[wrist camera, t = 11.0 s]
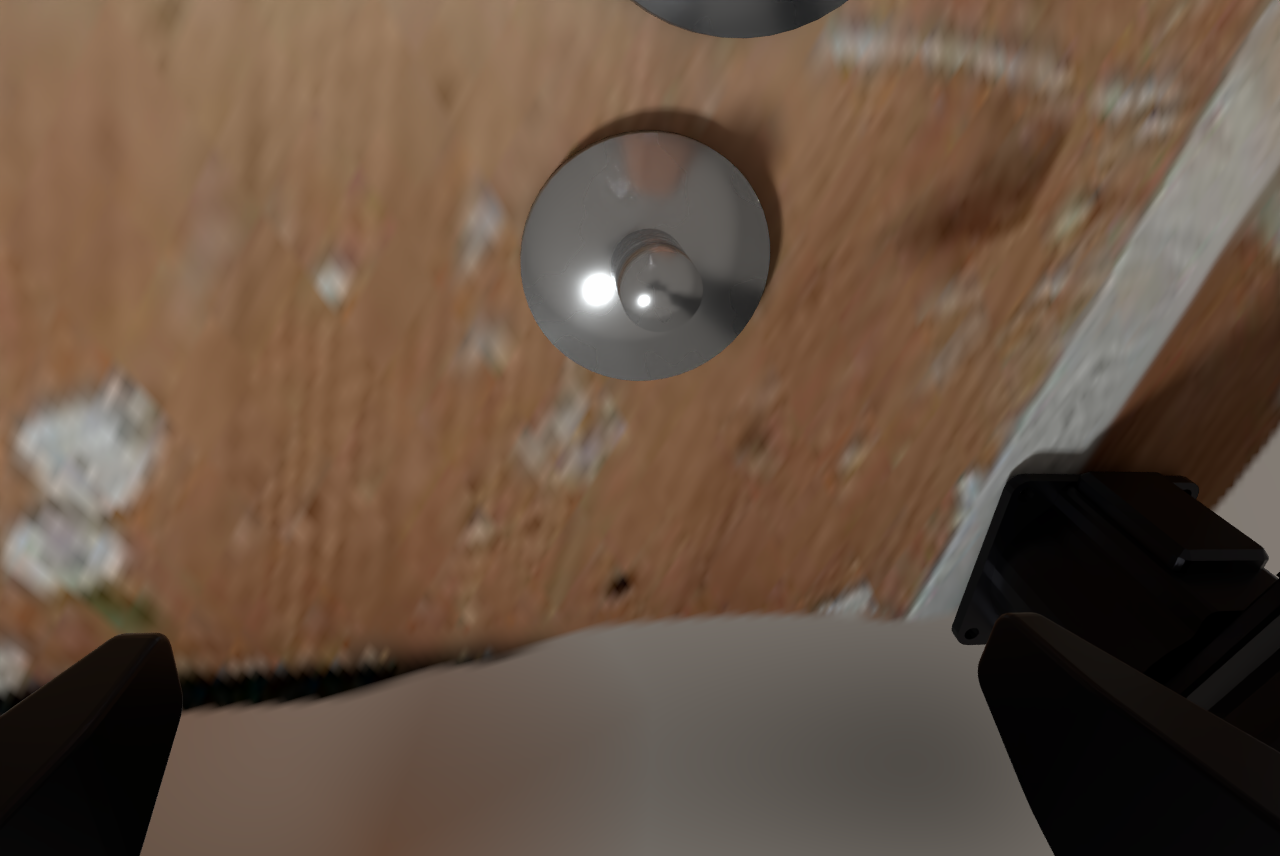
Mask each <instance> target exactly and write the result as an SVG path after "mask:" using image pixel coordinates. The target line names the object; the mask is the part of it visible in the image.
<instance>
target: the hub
mask: <svg viewBox="0 0 1280 856" xmlns="http://www.w3.org/2000/svg"><path fill="white" fill-rule="evenodd" d="M631 1H632V2H634V3H635V4H636V5H638V6H639V7H641V8H642V9H643V10H645V11H646V12H648V13H650V14H651V15H653V16H655V17H657V18H659V19H661V20H663V21H665V22H667V23H668V24H671V25H674V26H677V27H679V28H682V29H685V30H688V31H691V32H695V33H700V34H705V35H711V36H716V37H728V38H753V37H761V36H770V35H774V34H778V33H782V32H786V31H789V30H793V29H796V28H798V27H801V26H803V25H806V24H808V23H810V22H813V21H815V20H817V19H819V18H821V17H823V16H824V15H826V14H828V13H829V12H831V11H833V10H835V9H836V8H838V7H840V6H841V5H842V4H844V3H845V2H846V1H848V0H631Z"/></svg>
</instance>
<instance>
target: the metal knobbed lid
mask: <svg viewBox="0 0 1280 856" xmlns="http://www.w3.org/2000/svg"><path fill="white" fill-rule="evenodd" d="M520 255H521V277H522V283H523V288H524V293H525V296H526V299H527V302H528V305H529V308H530V310H531V312H532V314H533V316H534V318H535V321H536V322H537V324H538V325H539V327H540V328H541V330H542V331H543V333H544V334H545V335H546V337H547V338H548V339H549V340H550V341H551V342H552V344H553V345H554V346H555V347H556V348H557V349H559V350H560V351H561V352H562V353H563V354H564V355H565V356H567V357H568V358H570V359H571V360H573V361H574V362H576V363H577V364H579V365H581V366H583V367H585V368H587V369H588V370H590V371H593V372H596V373H598V374H601V375H604V376H608V377H612V378H617V379H622V380H633V381H645V380H656V379H663V378H668V377H672V376H675V375H679V374H682V373H684V372H687V371H689V370H692V369H694V368H696V367H698V366H700V365H702V364H704V363H705V362H707V361H709V360H710V359H712V358H713V357H714V356H716V355H717V354H719V353H720V352H721V351H722V350H724V349H725V348H726V347H727V346H728V345H729V344H730V343H731V342H732V341H733V340H734V339H735V338H736V337H737V336H738V335H739V334H740V332H741V331H742V330H743V329H744V327H745V326H746V324H747V323H748V321H749V320H750V319H751V317H752V315H753V313H754V311H755V309H756V308H757V306H758V304H759V301H760V299H761V296H762V294H763V291H764V288H765V284H766V280H767V276H768V270H769V262H770V239H769V232H768V226H767V222H766V219H765V215H764V212H763V209H762V207H761V204H760V202H759V200H758V197H757V195H756V194H755V192H754V190H753V189H752V187H751V185H750V184H749V182H748V181H747V180H746V178H745V177H744V176H743V175H742V174H741V172H740V171H739V170H738V169H737V168H736V167H735V166H734V165H733V164H732V163H730V162H729V161H728V160H727V159H726V158H725V157H723V156H722V155H720V154H719V153H718V152H716V151H715V150H713V149H712V148H710V147H709V146H707V145H705V144H703V143H701V142H699V141H697V140H694V139H692V138H689V137H686V136H683V135H680V134H677V133H671V132H665V131H652V130H640V131H632V132H624V133H621V134H617V135H613V136H609V137H606V138H604V139H602V140H599V141H597V142H594V143H592V144H590V145H589V146H587V147H585V148H583V149H582V150H580V151H578V152H577V153H575V154H574V155H573V156H572V157H570V158H569V159H568V160H567V161H565V162H564V163H563V164H562V165H561V166H560V167H559V168H558V169H557V170H556V171H555V172H554V173H553V174H552V175H551V176H550V178H549V179H548V180H547V182H546V183H545V184H544V186H543V187H542V188H541V190H540V192H539V193H538V195H537V197H536V199H535V201H534V203H533V204H532V207H531V209H530V212H529V214H528V217H527V220H526V223H525V227H524V231H523V236H522V243H521V253H520Z"/></svg>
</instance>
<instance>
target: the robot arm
mask: <svg viewBox="0 0 1280 856" xmlns="http://www.w3.org/2000/svg"><path fill="white" fill-rule="evenodd" d="M1024 489H1025V491H1024V492H1023V493H1021V494H1020V492H1021V491H1022V490H1024ZM1198 493H1199V488H1198V486H1197V485H1196V484H1195V483H1193V482H1192V481H1191V480H1189V479H1188V478H1186V477H1183V476H1163V475H1161V474H1159V473H1156V472H1087V473H1084V474H1081V475H1070V474H1021V475H1017V476H1015V477H1013V478H1012V479H1010V480H1009V481H1008V482H1007V484H1006V485H1005V487H1004V489H1003V492H1002V495H1001V497H1000V500H999V503H998V505H997V508H996V511H995V513H994V516H993V519H992V521H991V524H990V527H989V529H988V532H987V535H986V537H985V540H984V543H983V545H982V548H981V551H980V553H979V556H978V558H977V561H976V564H975V566H974V569H973V572H972V574H971V577H970V580H969V582H968V585H967V588H966V590H965V593H964V596H963V598H962V601H961V604H960V606H959V609H958V612H957V614H956V617H955V620H954V622H953V625H952V632H953V634H954V635H955V637H956V638H957V640H958V641H959V642H960V643H961V644H964V645H981V644H986V646H985V649H984V651H983V654H982V656H981V659H980V661H979V664H978V678H979V683H980V686H981V689H982V692H983V694H984V696H985V699H986V701H987V704H988V706H989V709H990V711H991V714H992V716H993V719H994V721H995V723H996V726H997V728H998V731H999V733H1000V736H1001V738H1002V741H1003V743H1004V745H1005V748H1006V750H1007V753H1008V755H1009V758H1010V760H1011V763H1012V765H1013V768H1014V770H1015V772H1016V775H1017V777H1018V780H1019V782H1020V785H1021V787H1022V790H1023V792H1024V794H1025V796H1026V799H1027V801H1028V803H1029V805H1030V808H1031V810H1032V812H1033V814H1034V816H1035V818H1036V820H1037V822H1038V824H1039V826H1040V828H1041V830H1042V832H1043V834H1044V836H1045V838H1046V840H1047V842H1048V844H1049V846H1050V848H1051V849H1052V851H1053V853H1054V855H1055V856H1280V572H1279V573H1278V574H1277V576H1278V577H1279V579H1278V578H1277V577H1276V576H1274V575H1273V574H1271V573H1270V572H1269V571H1267V570H1266V569H1265V568H1264V566H1265V564H1266V563H1267V561H1268V559H1269V557H1268V555H1267V553H1266V551H1265V550H1264V548H1263V547H1261V546H1260V545H1259V544H1257V543H1256V542H1255V541H1253V540H1252V539H1251V538H1249V537H1248V536H1246V535H1245V534H1244V533H1242V532H1241V531H1239V530H1238V529H1236V528H1235V527H1234V526H1232V525H1231V524H1229V523H1228V522H1227V521H1225V520H1224V519H1222V518H1221V517H1220V516H1218V515H1217V514H1216V513H1214V512H1213V511H1211V510H1210V509H1209V508H1207V507H1206V506H1204V505H1203V504H1202V503H1200V502H1199V501H1197V500H1196V498H1197V496H1198ZM182 704H183V696H182V689H181V685H180V681H179V677H178V673H177V668H176V664H175V660H174V656H173V652H172V647H171V644H170V642H169V640H168V638H167V637H166V636H165V635H163V634H161V633H126V634H120V635H117V636H115V637H113V638H111V639H109V640H108V641H106V642H105V643H104V644H102V645H101V646H99V647H98V648H97V649H95V650H94V651H92V652H91V653H89V654H88V655H87V656H85V657H84V658H82V659H81V660H80V661H78V662H77V663H75V664H74V665H72V666H71V667H70V668H68V669H67V670H65V671H64V672H62V673H61V674H60V675H58V676H57V677H55V678H54V679H53V680H51V681H50V682H48V683H47V684H45V685H44V686H43V687H41V688H40V689H38V690H37V691H36V692H34V693H33V694H31V695H30V696H28V697H27V698H26V699H24V700H23V701H21V702H20V703H18V704H17V705H16V706H14V707H13V708H11V709H10V710H9V711H7V712H6V713H4V714H3V715H1V716H0V856H140V853H141V850H142V847H143V843H144V840H145V837H146V833H147V830H148V826H149V823H150V820H151V816H152V813H153V809H154V806H155V802H156V799H157V796H158V792H159V789H160V785H161V782H162V778H163V775H164V772H165V768H166V765H167V762H168V758H169V755H170V752H171V748H172V745H173V741H174V738H175V735H176V731H177V728H178V725H179V721H180V717H181V712H182Z"/></svg>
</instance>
